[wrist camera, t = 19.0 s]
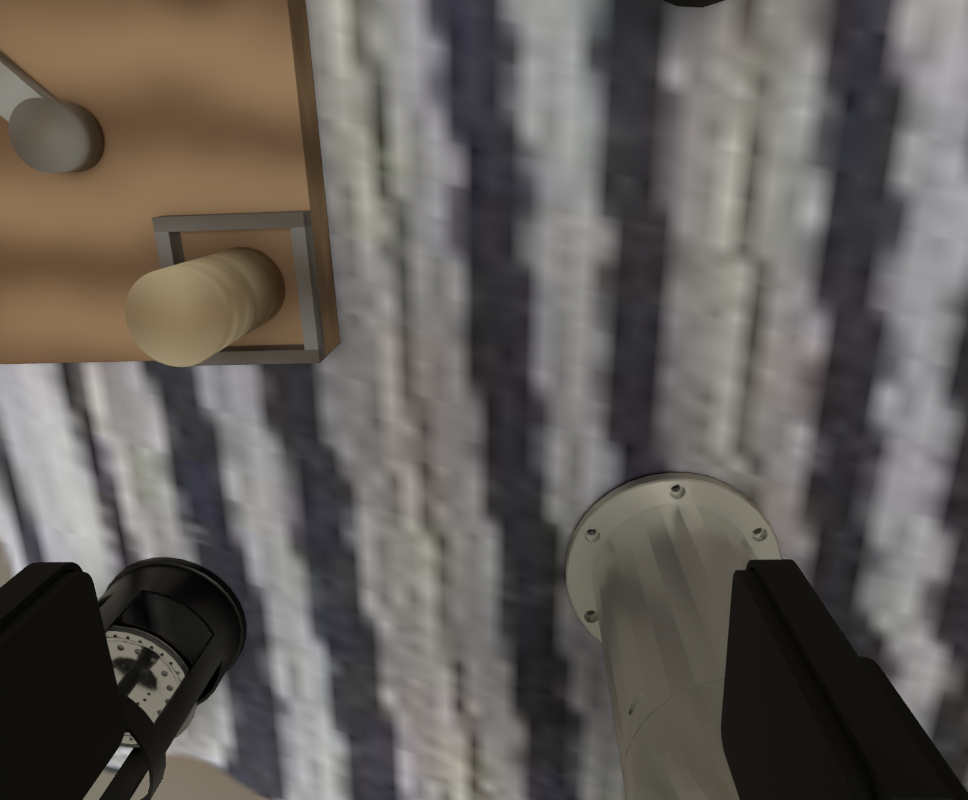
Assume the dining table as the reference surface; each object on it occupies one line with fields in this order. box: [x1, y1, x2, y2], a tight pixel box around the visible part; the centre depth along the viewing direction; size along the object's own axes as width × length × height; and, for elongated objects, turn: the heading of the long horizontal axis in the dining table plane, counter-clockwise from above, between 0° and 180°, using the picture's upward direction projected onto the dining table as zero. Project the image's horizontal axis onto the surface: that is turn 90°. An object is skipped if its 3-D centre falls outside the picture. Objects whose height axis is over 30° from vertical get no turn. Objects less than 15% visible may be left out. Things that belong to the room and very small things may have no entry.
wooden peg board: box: [0, 0, 340, 366], centre depth 34 cm, size 22×22×9 cm
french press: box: [98, 558, 246, 800], centre depth 36 cm, size 12×9×23 cm
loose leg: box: [125, 247, 285, 367], centre depth 33 cm, size 4×4×8 cm
